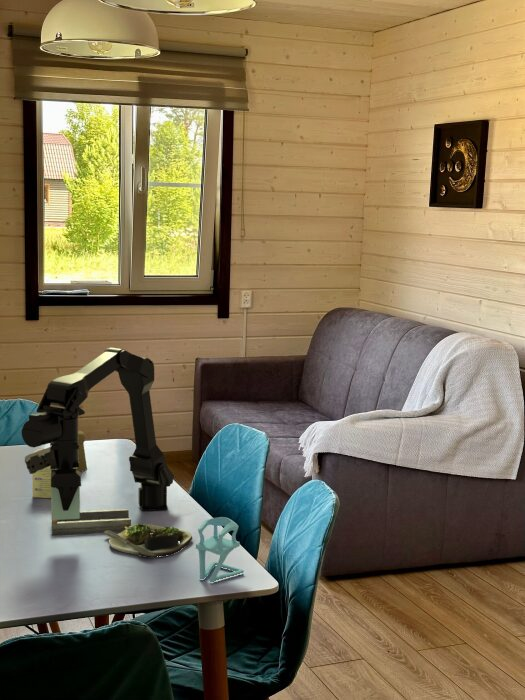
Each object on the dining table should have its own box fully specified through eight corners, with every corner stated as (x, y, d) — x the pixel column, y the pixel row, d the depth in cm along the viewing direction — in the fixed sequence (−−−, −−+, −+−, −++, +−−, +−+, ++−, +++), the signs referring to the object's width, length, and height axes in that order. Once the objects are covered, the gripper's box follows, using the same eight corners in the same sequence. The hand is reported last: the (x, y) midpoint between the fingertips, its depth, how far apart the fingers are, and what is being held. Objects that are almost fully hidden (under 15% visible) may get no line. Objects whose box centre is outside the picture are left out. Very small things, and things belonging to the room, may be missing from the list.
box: (78, 493, 241) (78, 449, 239) (71, 500, 235) (71, 455, 233) (39, 491, 242) (39, 447, 240) (32, 498, 236) (31, 453, 234)
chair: (190, 578, 188) (190, 522, 186) (214, 565, 194) (214, 511, 192) (220, 587, 183) (221, 530, 181) (244, 574, 190) (245, 518, 188)
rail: (128, 518, 222) (128, 504, 222) (131, 530, 214) (131, 516, 213) (51, 521, 218) (51, 507, 218) (52, 535, 210) (51, 520, 209)
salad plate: (84, 550, 202) (84, 530, 201) (128, 526, 218) (128, 507, 217) (161, 566, 194) (161, 545, 194) (200, 539, 211) (200, 520, 210)
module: (79, 512, 205) (78, 477, 204) (79, 518, 201) (79, 483, 199) (51, 513, 204) (51, 478, 202) (51, 520, 199) (51, 484, 198)
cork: (61, 470, 261) (61, 432, 259) (72, 465, 267) (71, 428, 265) (80, 472, 259) (80, 434, 257) (90, 467, 265) (90, 430, 263)
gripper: (27, 428, 207) (28, 495, 209) (25, 450, 189) (26, 523, 191) (78, 427, 209) (78, 493, 211) (81, 448, 191) (81, 520, 193)
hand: (65, 506), depth 202 cm, fingers closed on module, 4 cm apart
